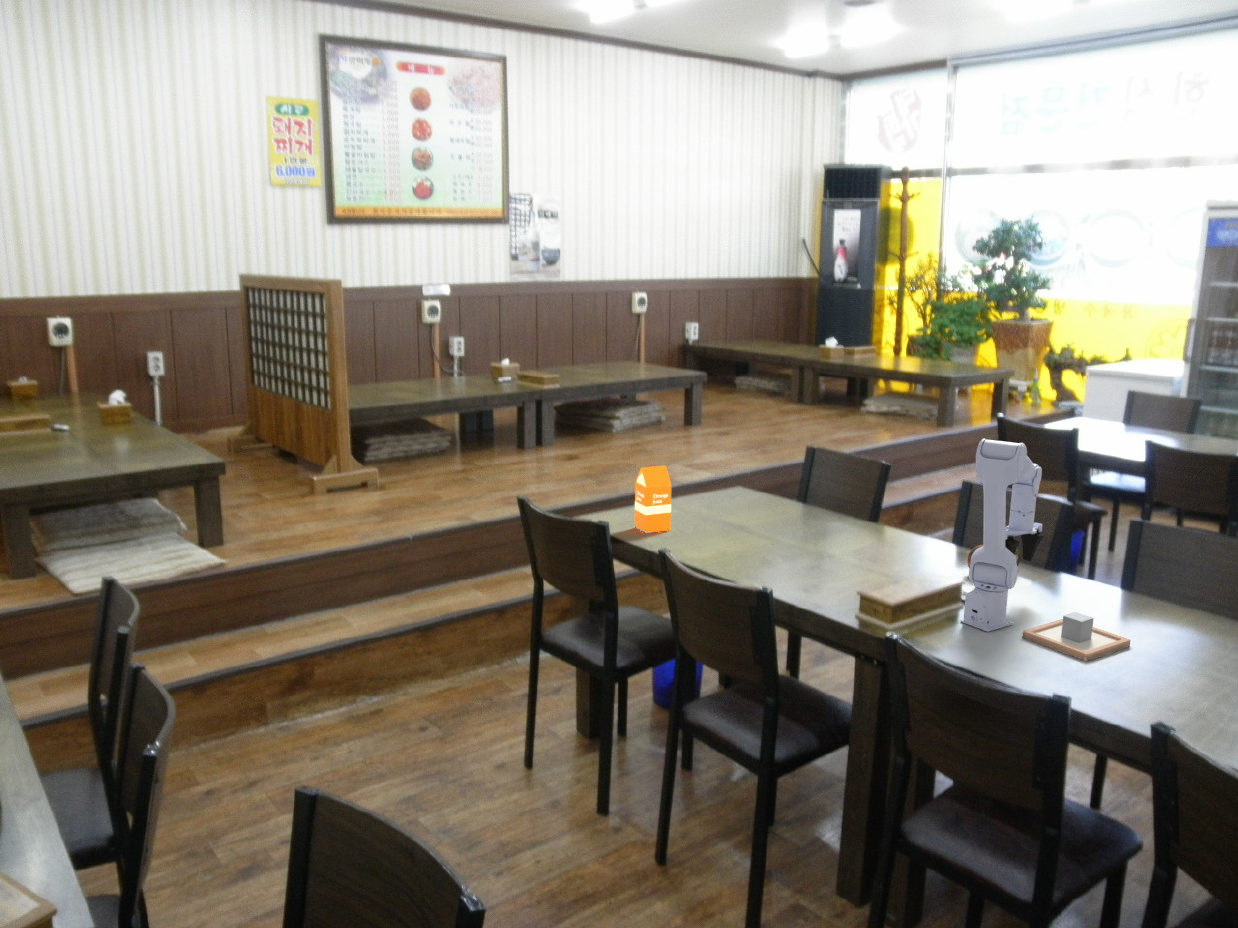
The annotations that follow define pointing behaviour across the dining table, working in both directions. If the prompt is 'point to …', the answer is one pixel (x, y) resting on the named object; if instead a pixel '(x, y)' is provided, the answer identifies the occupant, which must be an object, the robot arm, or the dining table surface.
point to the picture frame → (1085, 650)
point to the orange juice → (653, 499)
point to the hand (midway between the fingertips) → (1017, 562)
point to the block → (1077, 627)
